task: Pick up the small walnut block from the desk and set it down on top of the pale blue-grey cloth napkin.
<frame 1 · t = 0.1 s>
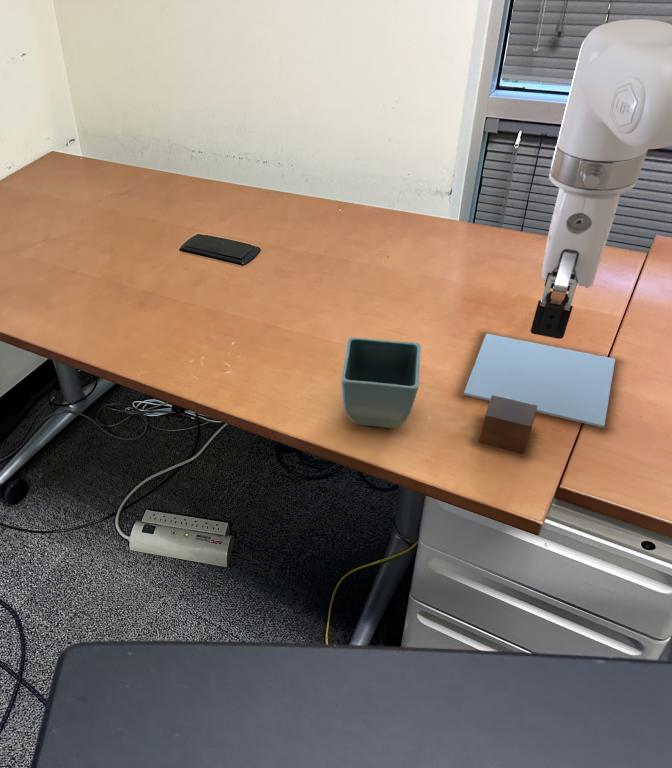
hand: (553, 310, 77), 15 cm above the table, tool pointing down, fingers open, 9 cm apart
flower pot: (376, 416, 89), on the table
walnut block: (504, 437, 83), on the table
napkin: (539, 377, 90), on the table
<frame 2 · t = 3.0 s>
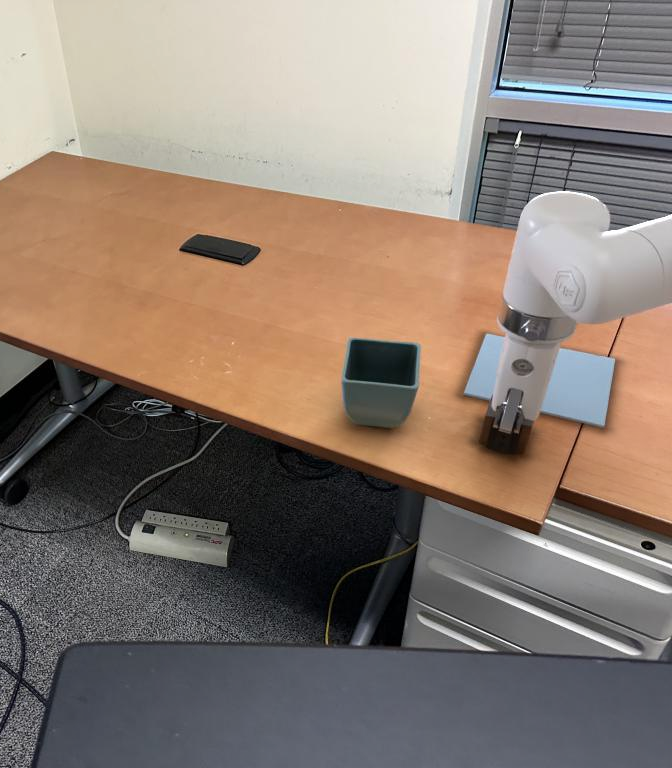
hand: (504, 435, 83), 0 cm above the table, tool pointing down, fingers closed on walnut block, 4 cm apart
walnut block: (504, 437, 83), on the table, touching gripper
everything else where it was.
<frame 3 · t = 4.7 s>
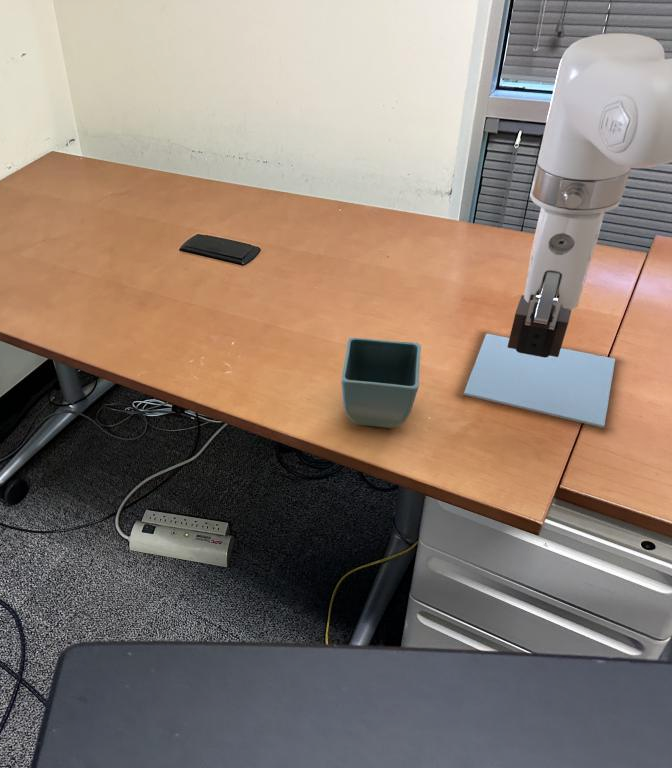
hand: (535, 339, 75), 14 cm above the table, tool pointing down, fingers closed on walnut block, 4 cm apart
walnut block: (535, 342, 75), point 14 cm above the table, touching gripper
everything else where it was.
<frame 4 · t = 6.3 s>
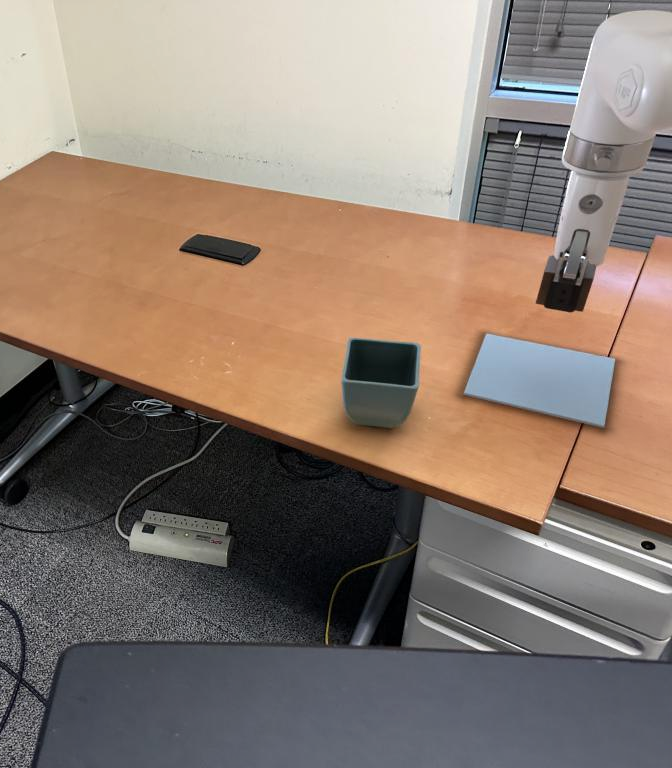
hand: (561, 297, 82), 13 cm above the table, tool pointing down, fingers closed on walnut block, 4 cm apart
walnut block: (561, 299, 82), point 13 cm above the table, touching gripper
everything else where it was.
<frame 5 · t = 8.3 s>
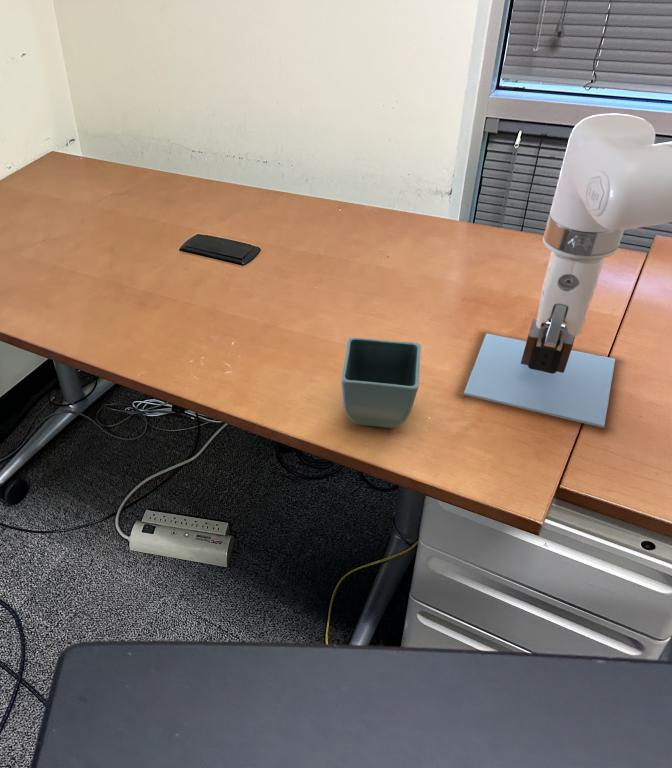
hand: (545, 357, 88), 3 cm above the table, tool pointing down, fingers closed on walnut block, 4 cm apart
walnut block: (544, 359, 89), point 3 cm above the table, touching gripper
everything else where it was.
when the fingers open (1 cm above the table, at t = 9.5 s): walnut block stays where it is, resting on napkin.
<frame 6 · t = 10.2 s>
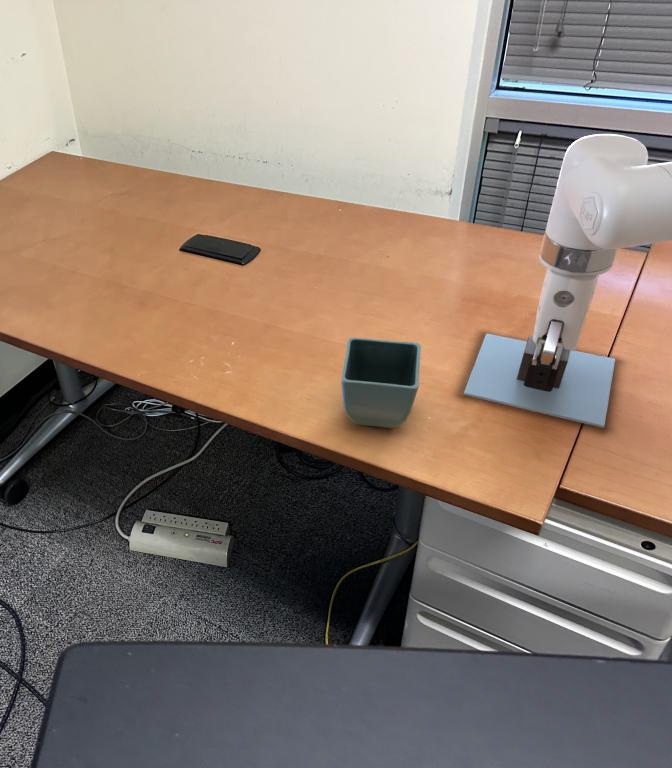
hand: (543, 365, 89), 2 cm above the table, tool pointing down, fingers open, 9 cm apart
walnut block: (539, 375, 90), resting on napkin
everything else where it was.
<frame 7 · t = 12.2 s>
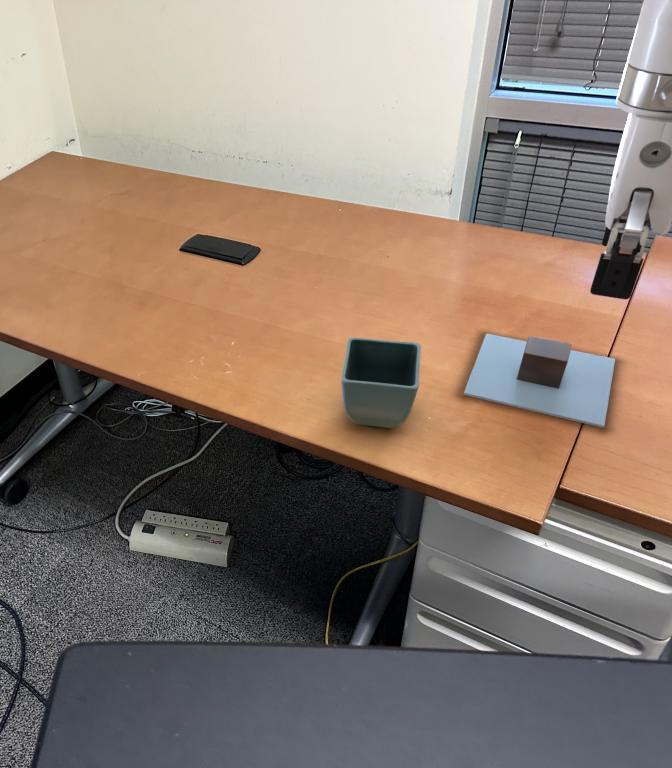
hand: (614, 270, 66), 24 cm above the table, tool pointing down, fingers open, 9 cm apart
nothing on the table moved.
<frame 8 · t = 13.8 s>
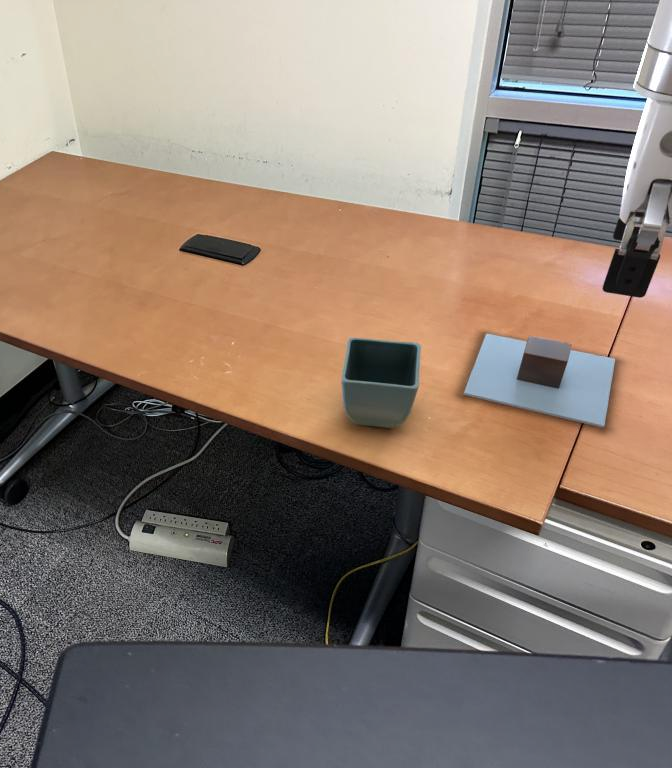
hand: (627, 265, 63), 26 cm above the table, tool pointing down, fingers open, 9 cm apart
nothing on the table moved.
at the end: walnut block inside the target area on the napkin (0.1 cm from its centre), point 0.4 cm above the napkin's base; walnut block tilted 0°; the gripper is holding nothing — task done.
